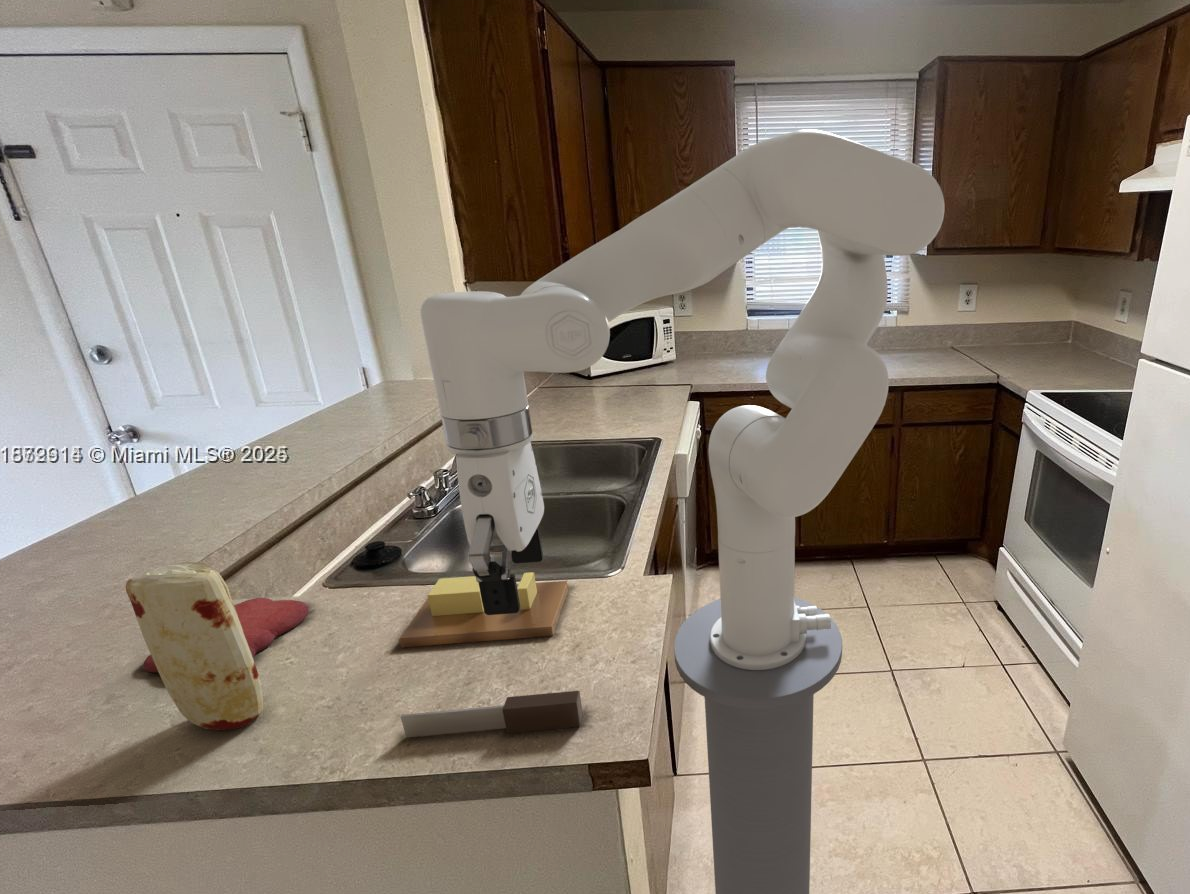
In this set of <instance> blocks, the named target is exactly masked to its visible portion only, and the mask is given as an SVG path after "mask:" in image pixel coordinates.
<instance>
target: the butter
mask: <svg viewBox="0 0 1190 894" xmlns="http://www.w3.org/2000/svg"><path fill="white" fill-rule="evenodd" d="M427 599H428V600H429V604H430V609H431V613H432V616H441V615H455V614H468V613H482V612H484V608H483V603H482V598H481V593H480V588H479V583H478V582H477V581H476V576H475V575H473V576H457V577H444V578H443V577H442V578H439V579H437V582H435V584H434V585H433V587H432V588H431V590H430V591H429V592H428V594H427Z"/></svg>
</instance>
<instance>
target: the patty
mask: <svg viewBox="0 0 1190 894" xmlns="http://www.w3.org/2000/svg"><path fill="white" fill-rule="evenodd" d="M234 607H235V610H236V612H237V615H238V618H239V621H240V624H241V626H242V629H243V632H244V635H245V637H246V640H247V643H248V646H249V649H250V651H251V654H252V657H253V659H254V658H255V657H256V654H257V653H259V652H261V651H263V650H264V649H266V648H268V647H269V646H270V645H271V644H272V643H273V642H274V639H276V638H277V637H279V636H281V635H283V634H285V633H286V632H289V631H291V630H292V629H294V628H296V627H297V626H298V625H299V624H301V623H302V622H303V621H304V620H306V618H307V617H308V614H309V611H310V610H309V607H308V605H307V604H306V603H304V602H303V601H299V600H295V599H282V600H281V599H279V600H272V599H270V598H267V597H254V598H251V599H246V600H244V601H242V602H239V603H236V604H234ZM142 667H143V669H144V671H146V672H149V673H158V674H159V672H158V669H157V667H156V665H155V663H154V660H153V658H152V656H151V654H149V655H148V656H147V657H146V658H145V659H144V661H143V664H142Z"/></svg>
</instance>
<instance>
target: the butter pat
mask: <svg viewBox="0 0 1190 894" xmlns="http://www.w3.org/2000/svg"><path fill="white" fill-rule="evenodd" d="M536 583H537V582H536V576H535V572H534V571H532V572H531V571H529V572H524V573H523V575H522V577H521V579H520V581H519V583H518V584H519V585H518V587H517V590H518V595H519V601H520V610H525V609H530V608H531V606H532V603H533V601H534V598H535V596H536V594H537V588H536Z"/></svg>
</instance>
